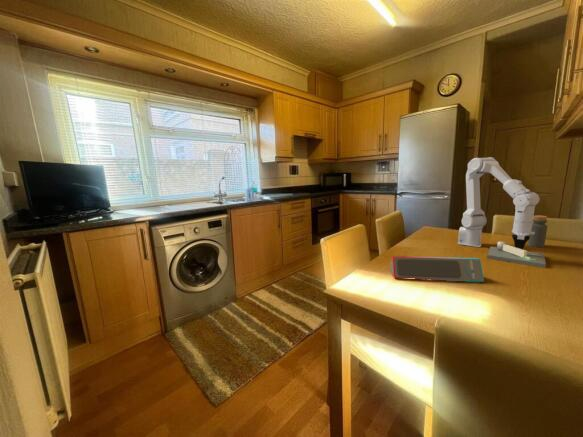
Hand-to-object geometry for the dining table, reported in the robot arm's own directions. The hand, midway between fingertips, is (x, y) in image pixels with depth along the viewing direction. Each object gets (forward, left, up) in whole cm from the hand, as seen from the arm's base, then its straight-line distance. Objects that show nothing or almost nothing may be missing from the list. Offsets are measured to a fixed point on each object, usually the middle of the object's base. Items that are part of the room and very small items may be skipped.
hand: (518, 251), depth 105 cm
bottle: (+6, +25, -3) cm, 26 cm away
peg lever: (-2, -1, -1) cm, 2 cm away
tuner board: (-1, -1, -3) cm, 3 cm away
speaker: (-23, -41, -4) cm, 47 cm away
